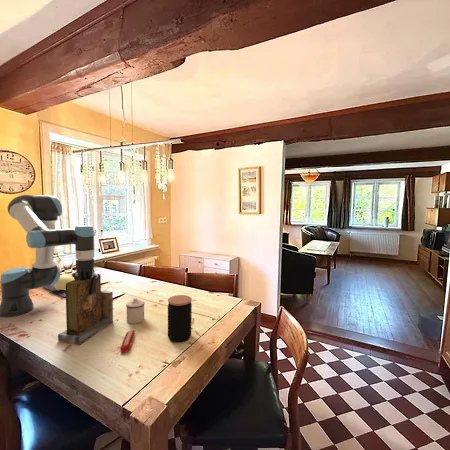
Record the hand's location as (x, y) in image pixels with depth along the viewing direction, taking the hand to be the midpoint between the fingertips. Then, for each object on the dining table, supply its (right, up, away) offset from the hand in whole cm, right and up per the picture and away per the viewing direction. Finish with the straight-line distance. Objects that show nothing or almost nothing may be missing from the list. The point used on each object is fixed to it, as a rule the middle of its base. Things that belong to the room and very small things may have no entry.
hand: (86, 308), depth 119 cm
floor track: (0, -11, +1) cm, 11 cm away
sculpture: (-47, -6, +58) cm, 75 cm away
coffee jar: (+44, -13, -2) cm, 46 cm away
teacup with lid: (+17, -11, +15) cm, 25 cm away
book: (-1, -11, +1) cm, 11 cm away
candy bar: (+22, -13, -8) cm, 27 cm away
